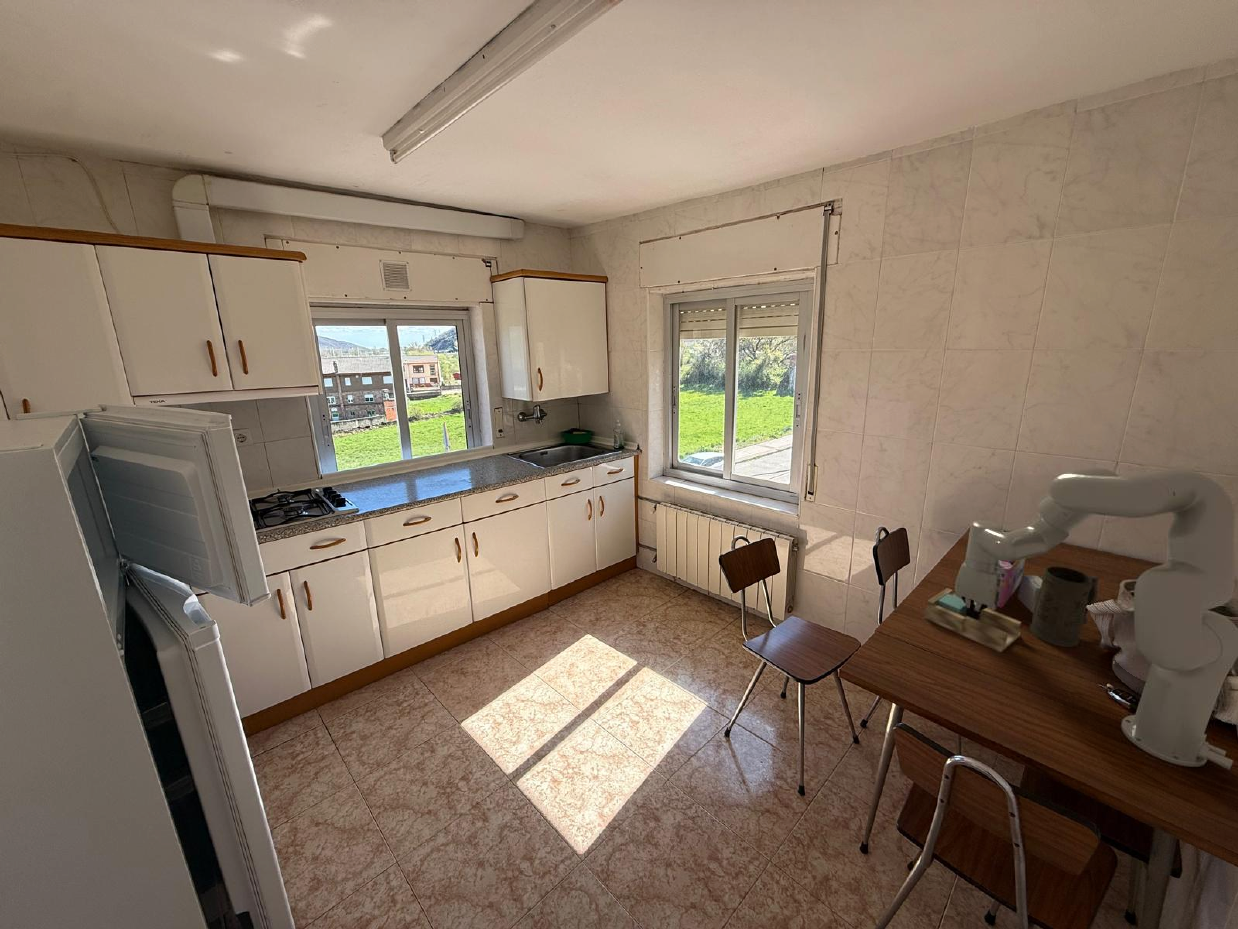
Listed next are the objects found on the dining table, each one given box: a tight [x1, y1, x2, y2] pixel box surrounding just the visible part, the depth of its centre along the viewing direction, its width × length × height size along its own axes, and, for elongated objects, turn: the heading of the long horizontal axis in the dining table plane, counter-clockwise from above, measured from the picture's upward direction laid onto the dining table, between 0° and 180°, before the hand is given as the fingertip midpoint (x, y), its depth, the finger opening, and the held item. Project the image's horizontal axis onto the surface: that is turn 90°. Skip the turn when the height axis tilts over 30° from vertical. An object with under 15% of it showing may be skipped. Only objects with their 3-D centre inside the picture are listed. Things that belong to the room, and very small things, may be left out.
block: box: [938, 594, 967, 617], centre depth 150 cm, size 6×6×5 cm
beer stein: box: [1029, 566, 1099, 648], centre depth 139 cm, size 15×11×20 cm
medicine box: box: [1017, 574, 1043, 613], centre depth 153 cm, size 8×4×9 cm, turn 168°
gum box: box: [997, 559, 1026, 608], centre depth 162 cm, size 24×8×14 cm, turn 130°
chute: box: [924, 587, 1022, 653], centre depth 145 cm, size 20×12×6 cm, turn 33°
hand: (972, 619), depth 146 cm, fingers closed
